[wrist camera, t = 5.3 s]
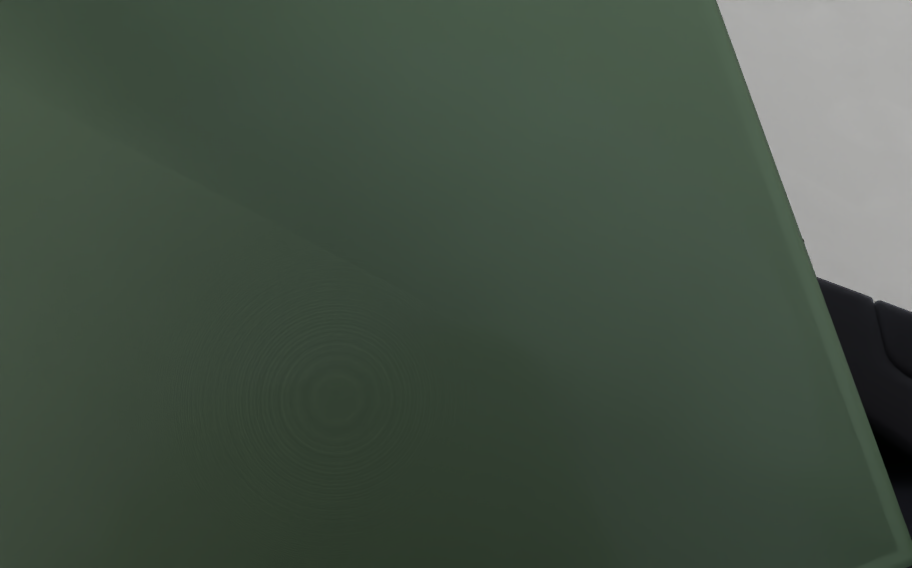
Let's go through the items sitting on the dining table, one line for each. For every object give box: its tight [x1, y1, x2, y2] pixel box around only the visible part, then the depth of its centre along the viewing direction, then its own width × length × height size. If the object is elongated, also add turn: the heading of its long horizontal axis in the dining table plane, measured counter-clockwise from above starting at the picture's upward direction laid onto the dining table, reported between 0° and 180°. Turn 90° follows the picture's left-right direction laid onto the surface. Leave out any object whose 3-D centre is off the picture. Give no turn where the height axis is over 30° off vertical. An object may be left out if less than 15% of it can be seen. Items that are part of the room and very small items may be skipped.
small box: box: [0, 0, 912, 568], centre depth 8 cm, size 5×5×9 cm
